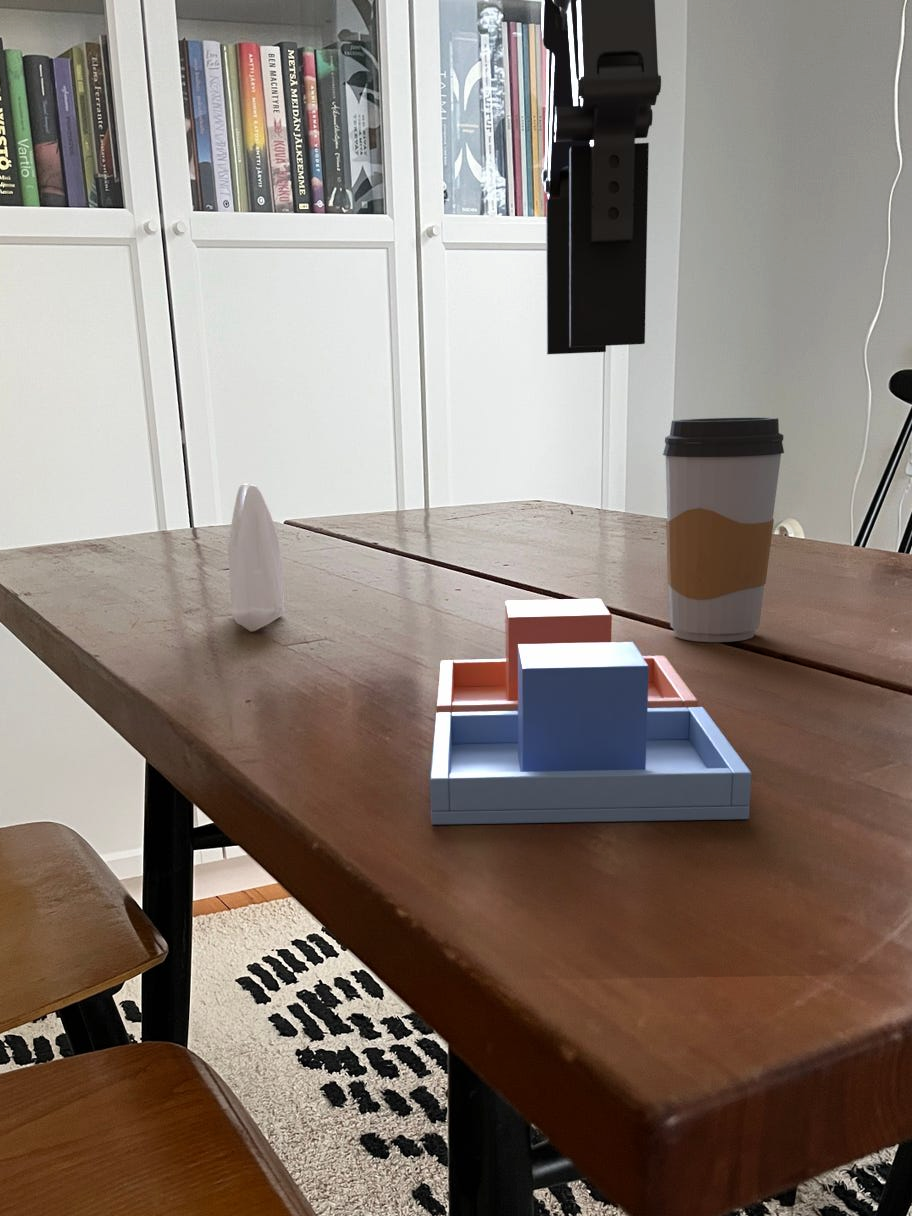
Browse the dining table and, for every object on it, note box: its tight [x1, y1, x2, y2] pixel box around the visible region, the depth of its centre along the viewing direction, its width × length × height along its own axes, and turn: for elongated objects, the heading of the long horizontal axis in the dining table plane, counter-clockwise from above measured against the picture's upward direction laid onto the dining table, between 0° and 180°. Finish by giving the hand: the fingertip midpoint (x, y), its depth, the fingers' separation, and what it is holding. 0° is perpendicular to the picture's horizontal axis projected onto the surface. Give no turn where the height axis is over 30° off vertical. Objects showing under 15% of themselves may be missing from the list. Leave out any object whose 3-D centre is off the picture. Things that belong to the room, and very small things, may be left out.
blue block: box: [518, 641, 649, 772], centre depth 58 cm, size 6×6×6 cm
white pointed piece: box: [227, 483, 286, 632], centre depth 100 cm, size 12×4×11 cm, turn 7°
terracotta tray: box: [436, 655, 699, 714], centre depth 71 cm, size 14×12×2 cm
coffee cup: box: [662, 417, 785, 643], centre depth 90 cm, size 8×8×15 cm
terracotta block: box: [504, 598, 613, 701], centre depth 71 cm, size 6×6×6 cm
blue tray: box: [429, 706, 753, 826], centre depth 59 cm, size 14×12×2 cm
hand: (589, 351), depth 53 cm, fingers open, 13 cm apart
